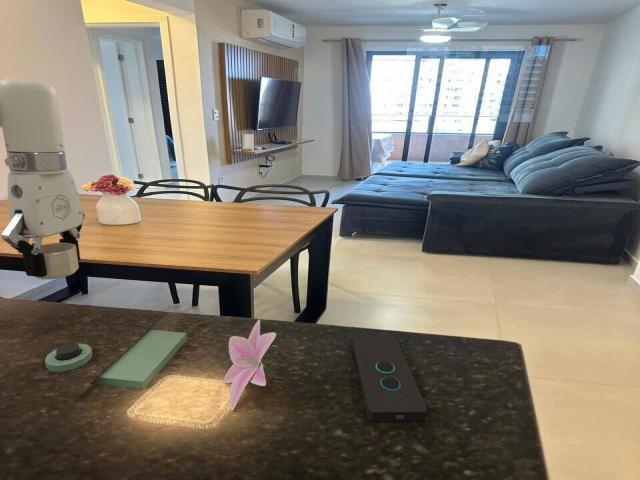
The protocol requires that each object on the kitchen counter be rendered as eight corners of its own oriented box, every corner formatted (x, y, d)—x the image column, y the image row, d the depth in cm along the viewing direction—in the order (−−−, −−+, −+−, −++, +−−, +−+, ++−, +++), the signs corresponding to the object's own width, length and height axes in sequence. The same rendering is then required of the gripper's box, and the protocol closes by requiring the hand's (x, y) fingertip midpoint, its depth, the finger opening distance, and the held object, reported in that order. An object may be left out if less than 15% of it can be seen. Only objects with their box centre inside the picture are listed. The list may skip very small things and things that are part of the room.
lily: (236, 362, 65) (206, 327, 59) (300, 341, 63) (276, 302, 58) (229, 431, 55) (193, 397, 49) (305, 408, 53) (276, 369, 48)
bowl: (20, 278, 63) (16, 252, 62) (53, 264, 69) (49, 241, 68) (58, 282, 62) (54, 256, 61) (87, 268, 69) (84, 244, 68)
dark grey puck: (52, 360, 58) (51, 352, 57) (67, 349, 60) (66, 342, 60) (70, 362, 57) (69, 354, 57) (85, 351, 60) (83, 343, 60)
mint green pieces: (39, 380, 57) (35, 363, 56) (103, 331, 71) (100, 317, 70) (142, 391, 55) (140, 374, 54) (187, 339, 69) (186, 324, 68)
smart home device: (368, 411, 50) (350, 333, 69) (367, 422, 51) (349, 341, 70) (429, 411, 51) (395, 333, 70) (428, 421, 51) (394, 341, 70)
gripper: (11, 169, 52) (32, 289, 57) (97, 160, 69) (108, 254, 74) (-38, 166, 53) (-13, 285, 58) (58, 158, 69) (72, 251, 74)
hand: (54, 267), depth 66 cm, fingers closed on bowl, 6 cm apart
